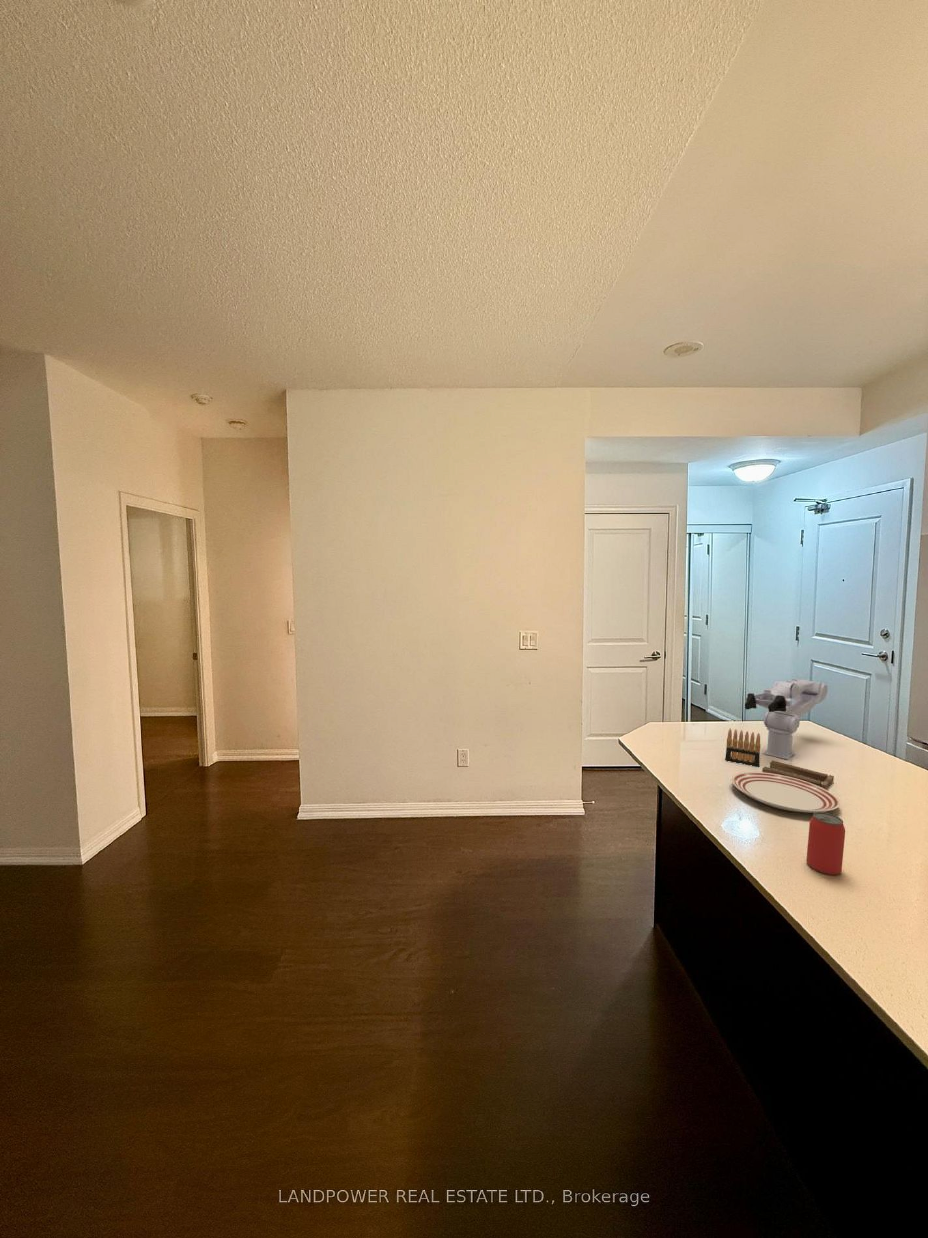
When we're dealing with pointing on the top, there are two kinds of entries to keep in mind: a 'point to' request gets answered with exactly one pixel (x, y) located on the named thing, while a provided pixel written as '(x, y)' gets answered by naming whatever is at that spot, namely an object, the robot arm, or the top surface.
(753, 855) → the top surface
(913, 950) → the top surface
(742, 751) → the ammunition clip
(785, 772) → the guide rails
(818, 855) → the beer can
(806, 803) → the dinner plate
